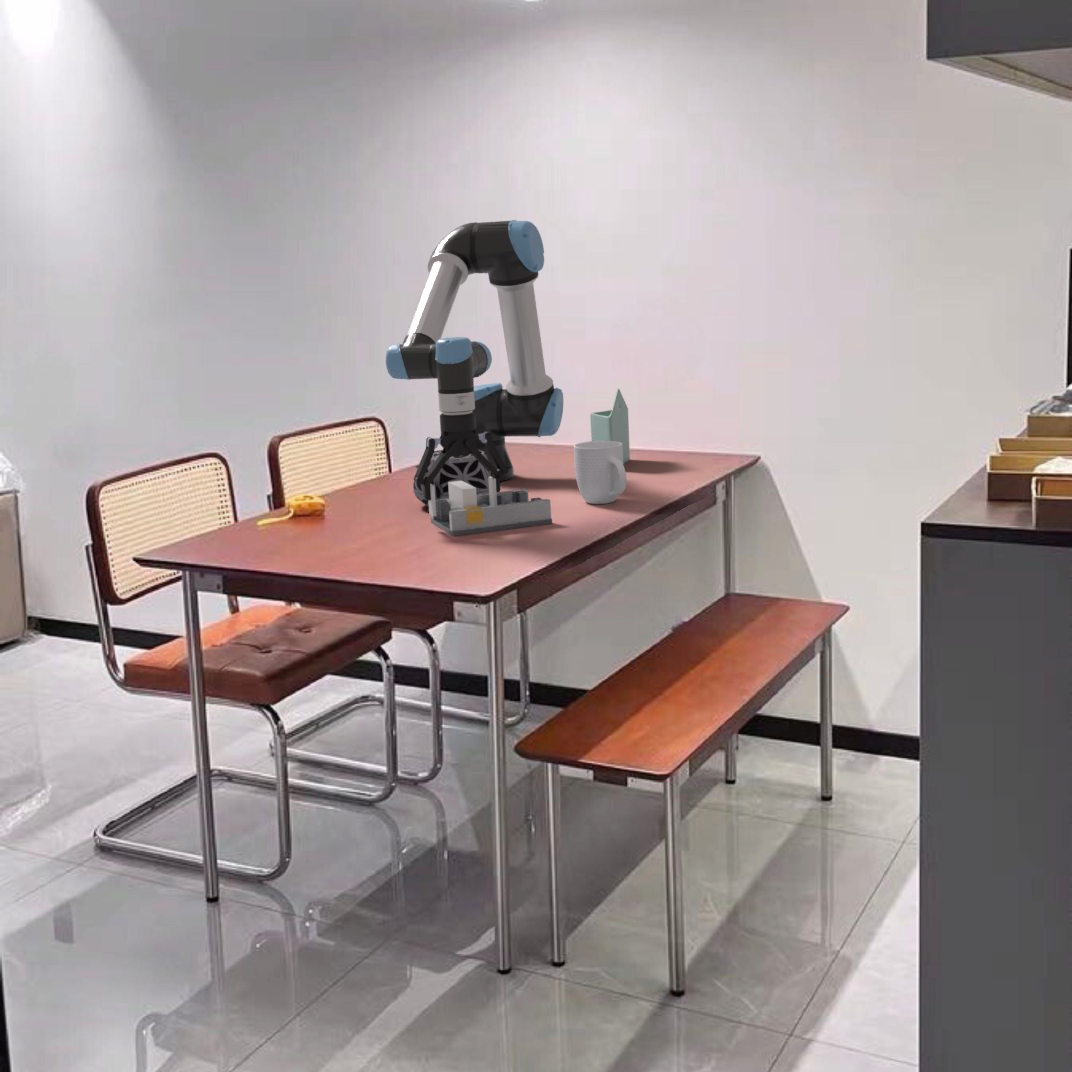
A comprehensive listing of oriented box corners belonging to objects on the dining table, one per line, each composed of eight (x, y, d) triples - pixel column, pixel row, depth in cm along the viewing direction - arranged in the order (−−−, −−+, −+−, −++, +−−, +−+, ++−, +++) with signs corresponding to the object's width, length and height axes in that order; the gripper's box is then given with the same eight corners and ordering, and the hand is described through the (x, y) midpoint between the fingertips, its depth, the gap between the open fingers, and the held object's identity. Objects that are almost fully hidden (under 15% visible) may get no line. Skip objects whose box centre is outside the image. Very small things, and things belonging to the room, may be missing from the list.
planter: (601, 459, 388) (598, 384, 384) (630, 459, 385) (627, 384, 381) (583, 470, 373) (580, 393, 368) (613, 471, 370) (610, 392, 366)
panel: (450, 518, 318) (448, 482, 316) (463, 516, 319) (461, 480, 317) (464, 527, 309) (462, 489, 307) (478, 525, 310) (476, 487, 308)
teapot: (382, 517, 328) (377, 450, 325) (451, 491, 354) (448, 429, 351) (456, 521, 319) (452, 453, 316) (521, 494, 346) (518, 431, 343)
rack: (431, 522, 320) (429, 498, 319) (526, 510, 327) (524, 487, 326) (453, 536, 305) (451, 511, 304) (552, 523, 312) (551, 499, 311)
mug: (644, 503, 328) (643, 445, 326) (605, 511, 323) (602, 452, 320) (605, 494, 341) (603, 438, 338) (566, 501, 335) (563, 444, 332)
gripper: (404, 419, 301) (411, 521, 306) (519, 408, 309) (524, 507, 314) (395, 415, 308) (402, 515, 313) (507, 404, 316) (512, 501, 321)
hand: (463, 511), depth 313 cm, fingers open, 13 cm apart
